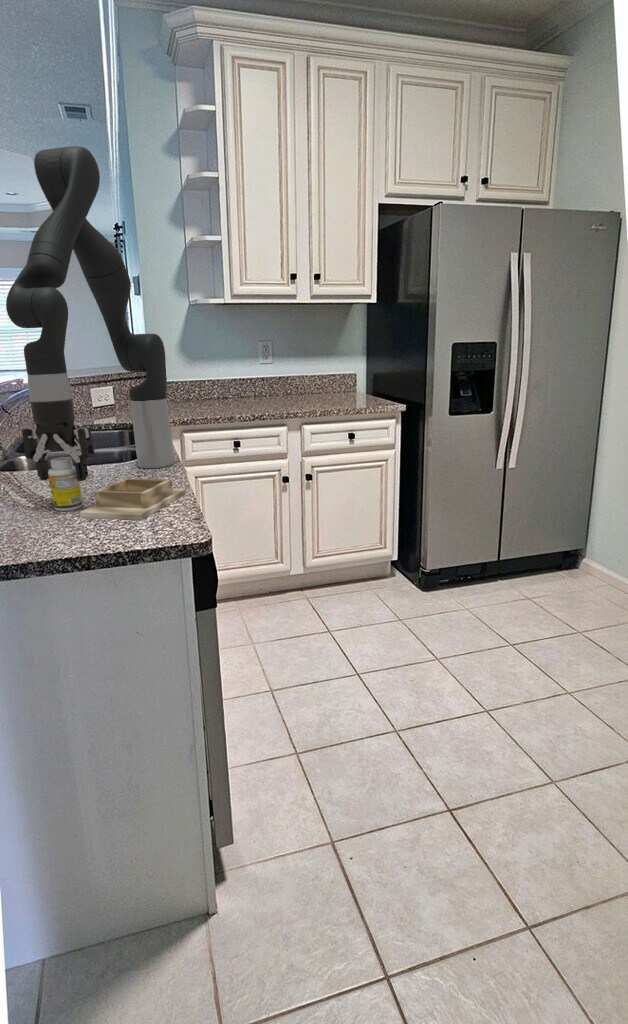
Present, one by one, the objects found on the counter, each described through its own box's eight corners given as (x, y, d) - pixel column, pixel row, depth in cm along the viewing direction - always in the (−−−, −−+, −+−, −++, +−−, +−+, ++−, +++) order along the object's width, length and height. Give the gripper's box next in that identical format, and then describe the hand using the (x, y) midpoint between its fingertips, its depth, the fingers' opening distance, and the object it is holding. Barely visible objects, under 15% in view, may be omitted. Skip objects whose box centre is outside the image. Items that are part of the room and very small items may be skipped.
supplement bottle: (58, 505, 127) (50, 456, 124) (86, 503, 127) (78, 455, 125) (50, 513, 122) (42, 462, 119) (79, 510, 122) (71, 460, 119)
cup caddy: (132, 491, 135) (130, 474, 134) (186, 493, 132) (184, 475, 131) (80, 517, 118) (77, 497, 117) (141, 519, 115) (138, 499, 113)
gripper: (94, 395, 120) (105, 476, 124) (32, 396, 123) (45, 475, 128) (71, 399, 113) (83, 485, 117) (6, 400, 116) (20, 483, 121)
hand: (63, 480), depth 123 cm, fingers open, 8 cm apart
